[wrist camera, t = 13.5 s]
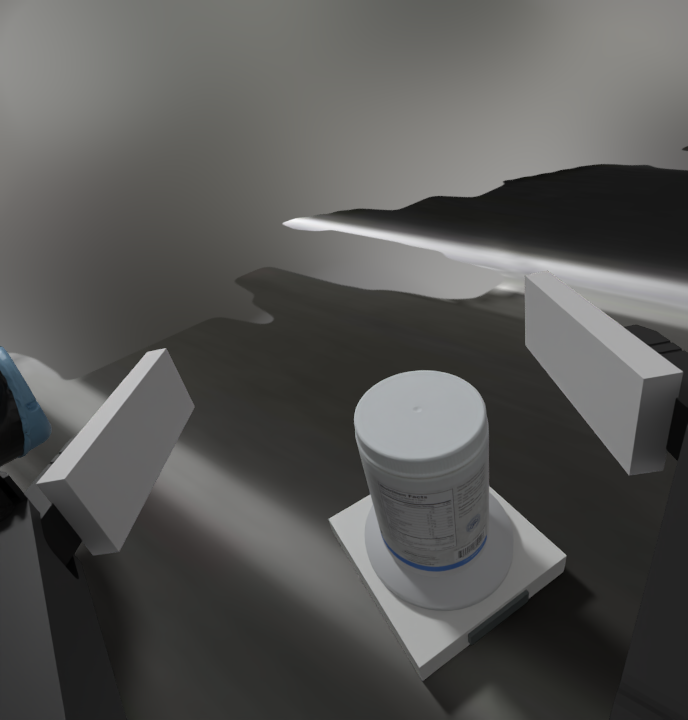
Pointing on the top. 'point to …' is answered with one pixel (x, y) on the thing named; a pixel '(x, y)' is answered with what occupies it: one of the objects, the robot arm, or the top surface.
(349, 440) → the top surface
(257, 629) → the top surface
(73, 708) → the robot arm
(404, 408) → the supplement tub
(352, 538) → the scale
